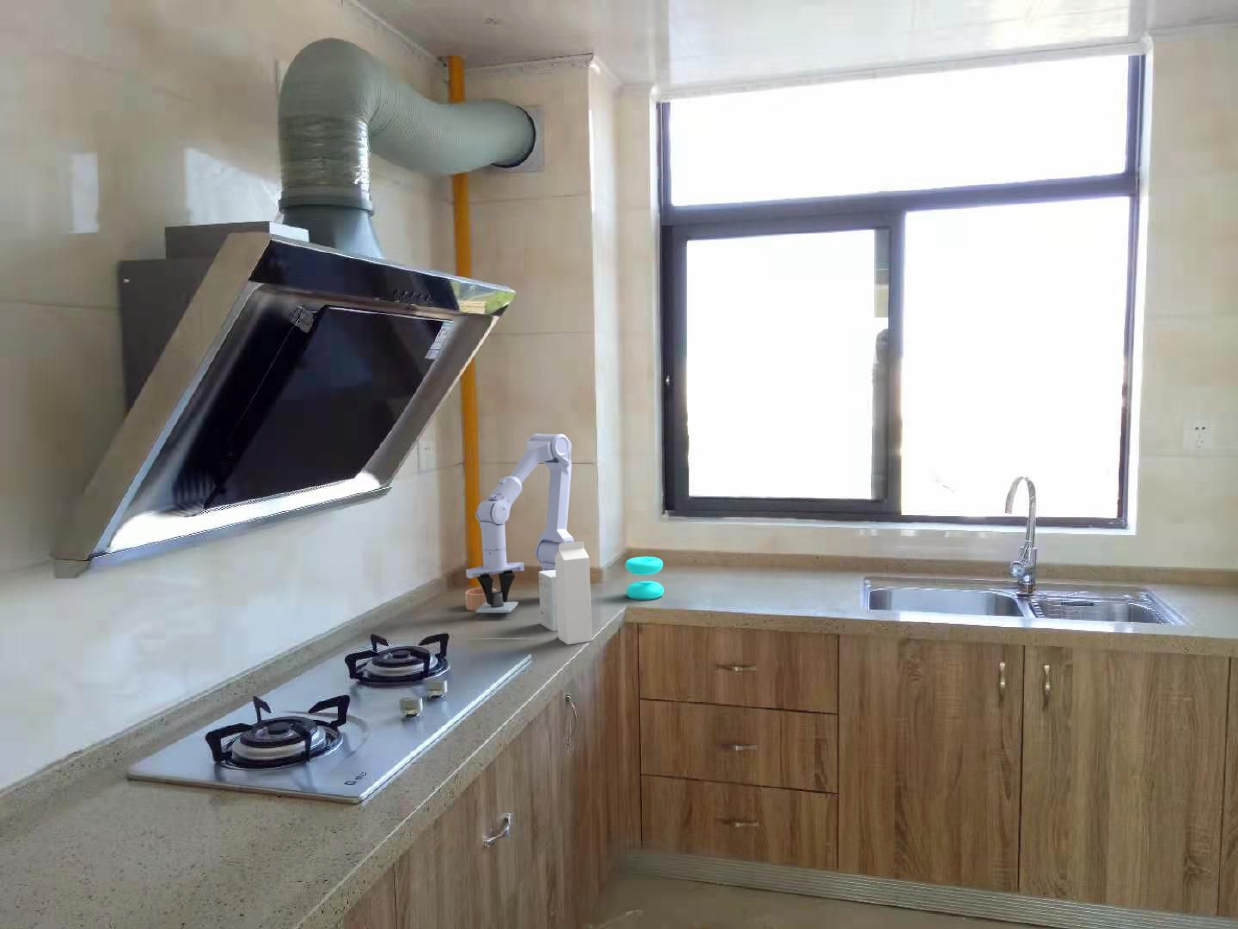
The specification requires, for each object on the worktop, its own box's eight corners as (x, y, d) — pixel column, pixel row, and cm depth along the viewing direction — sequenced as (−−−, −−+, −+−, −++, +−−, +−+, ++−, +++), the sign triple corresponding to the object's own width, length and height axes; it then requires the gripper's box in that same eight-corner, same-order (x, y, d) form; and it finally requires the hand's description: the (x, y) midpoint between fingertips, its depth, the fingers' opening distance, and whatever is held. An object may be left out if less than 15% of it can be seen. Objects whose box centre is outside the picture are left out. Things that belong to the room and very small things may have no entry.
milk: (592, 641, 210) (589, 543, 208) (567, 645, 208) (563, 546, 206) (582, 634, 216) (579, 539, 214) (557, 638, 214) (554, 541, 211)
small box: (577, 628, 221) (575, 573, 220) (552, 632, 219) (550, 577, 217) (564, 621, 229) (562, 568, 228) (539, 625, 226) (537, 571, 225)
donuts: (624, 563, 246) (625, 556, 256) (625, 601, 247) (626, 592, 257) (663, 562, 246) (662, 555, 256) (664, 600, 247) (663, 591, 257)
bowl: (500, 604, 248) (499, 587, 248) (492, 612, 240) (491, 594, 240) (471, 604, 249) (470, 587, 249) (462, 612, 242) (461, 594, 241)
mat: (519, 612, 239) (519, 610, 239) (510, 621, 230) (510, 619, 230) (485, 612, 241) (484, 610, 241) (474, 621, 232) (474, 619, 232)
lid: (518, 604, 239) (517, 588, 239) (509, 612, 231) (508, 596, 230) (485, 604, 240) (484, 588, 240) (476, 612, 232) (475, 596, 231)
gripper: (515, 542, 241) (517, 595, 242) (460, 549, 234) (463, 603, 235) (526, 546, 235) (528, 600, 236) (470, 554, 228) (473, 609, 229)
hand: (497, 602), depth 235 cm, fingers closed on lid, 3 cm apart
